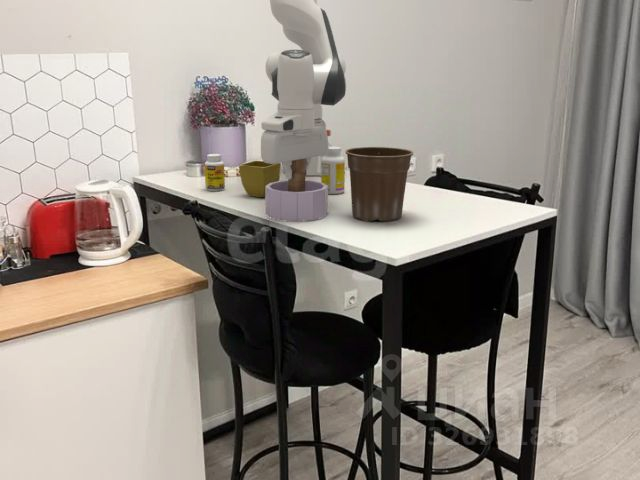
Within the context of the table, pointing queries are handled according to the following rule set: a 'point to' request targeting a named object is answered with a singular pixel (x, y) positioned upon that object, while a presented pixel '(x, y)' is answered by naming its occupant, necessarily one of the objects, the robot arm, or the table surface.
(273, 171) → the flower pot
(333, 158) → the supplement bottle
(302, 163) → the brown wooden block
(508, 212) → the table surface
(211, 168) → the supplement bottle
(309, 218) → the lilac round bowl
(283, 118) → the robot arm
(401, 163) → the plant pot
